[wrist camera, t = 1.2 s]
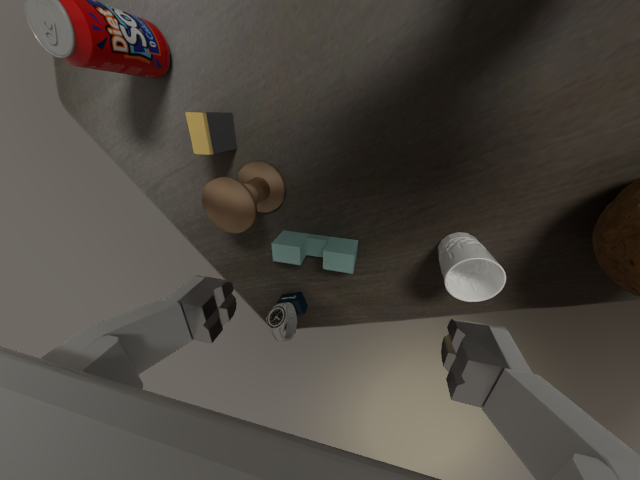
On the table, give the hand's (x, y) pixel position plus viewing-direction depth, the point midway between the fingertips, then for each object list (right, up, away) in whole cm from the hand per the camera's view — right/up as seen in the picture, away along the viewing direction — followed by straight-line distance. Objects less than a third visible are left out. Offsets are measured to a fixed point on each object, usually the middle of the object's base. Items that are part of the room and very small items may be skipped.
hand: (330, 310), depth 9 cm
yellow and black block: (-18, +23, +35) cm, 46 cm away
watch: (-7, -12, +51) cm, 53 cm away
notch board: (-1, +2, +42) cm, 42 cm away
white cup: (+25, +1, +35) cm, 43 cm away
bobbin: (-12, +13, +39) cm, 43 cm away
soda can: (-29, +35, +32) cm, 56 cm away
